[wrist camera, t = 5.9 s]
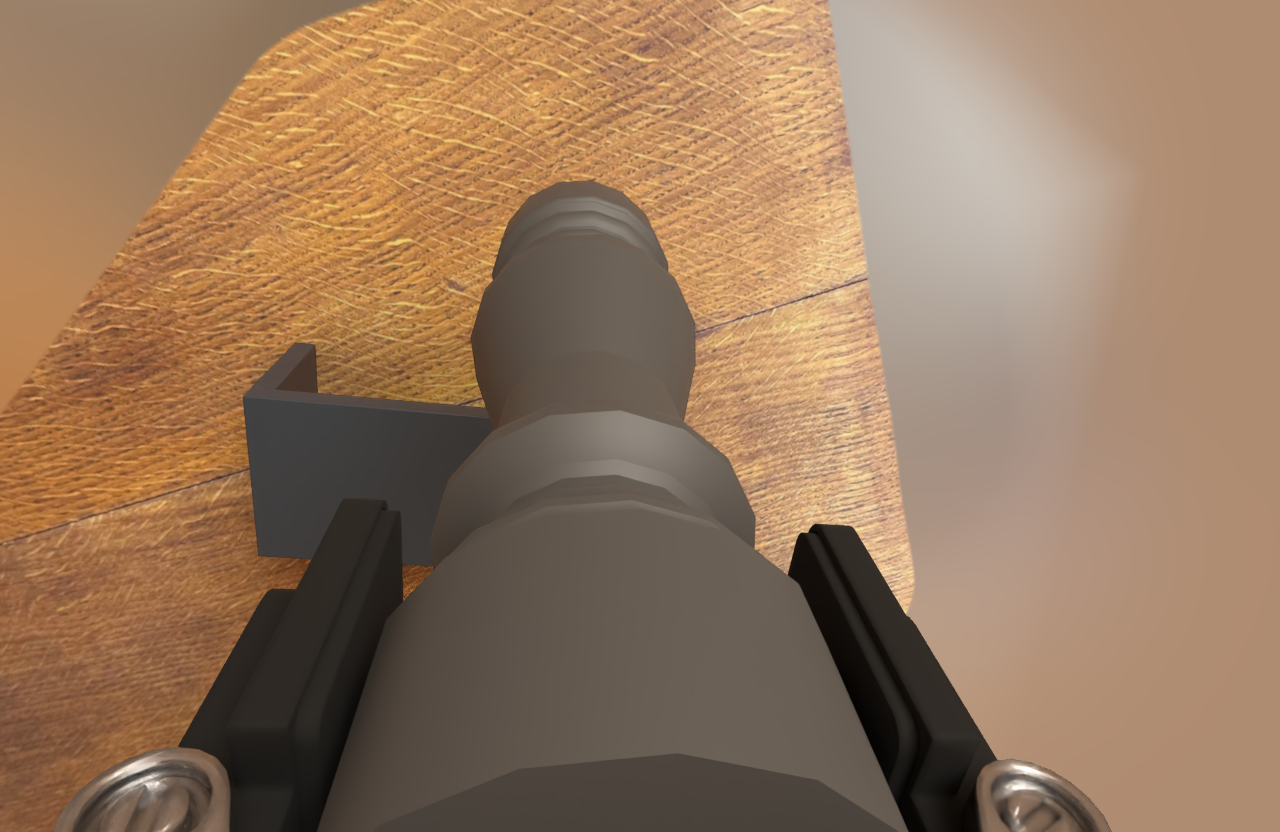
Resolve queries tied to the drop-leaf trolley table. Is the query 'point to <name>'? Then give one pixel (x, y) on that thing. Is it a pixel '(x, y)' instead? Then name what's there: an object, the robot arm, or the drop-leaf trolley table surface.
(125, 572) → the drop-leaf trolley table surface
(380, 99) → the drop-leaf trolley table surface
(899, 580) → the drop-leaf trolley table surface
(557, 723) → the candle holder
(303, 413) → the shelf
